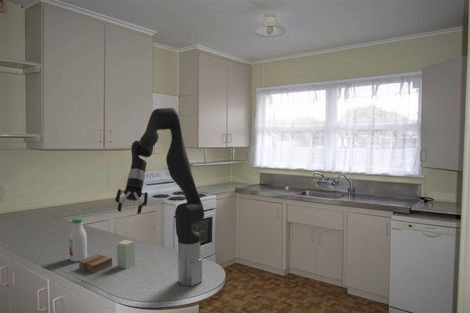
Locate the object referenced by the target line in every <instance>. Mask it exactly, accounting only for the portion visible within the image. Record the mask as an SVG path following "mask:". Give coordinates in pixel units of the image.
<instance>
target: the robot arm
mask: <svg viewBox="0 0 470 313" xmlns="http://www.w3.org/2000/svg"><path fill="white" fill-rule="evenodd" d="M181 127H182V126H181V121H180V117H179V113H178V111H177V110H176V109H175V108H174V107H162V108H155V109H153V110H152V112H151V114H150V116H149V119H148V123H147V125H146V128H145V131H144V133H143V134H142V136H141V138H139V139H140V140H134V141H133V142H132V144H131V147H130V148H131V149H130V150H131V163H130V164H131V165H130V170H129V173H128V176H127V181H126V186H125V189H124V190H122V189H121V188H119V189H117V192H116V196H115V200H114V201H115V202H116V203H118V205H117V211H118V213H121V212H122V209H123V204H124V203H125V202H127V201H133V202H136V201H137V203H138V208H137V211H136V214H137V215H140V214H141V212H142V210H143V209H142V208H143V207H144V206H145V207H146V206H147V205H148V199H149V198H148V197H149V193H148V192H143V187H144V183H145V182H144V181H145V174H146V168H147V161H146V160H145V159H143V158H149V157H151V156H152V155H153V151H154V146H155V145H156V143H157V142H158V140H159V133H158V131H164V130H166V131H167V130H169V131H170V136H171V142H170V145H169V147H168V150H167V154H166V159H165V161H166V166H167V170H168V173H169V176H170V178H171V179H172V181H174V183H175V184H176V185H177V186H178V187H179V188H180V190H181V191H182V192H183V195H184V197H185V200H186V202H183V203H180V204H178V205H177V206H176V207H175V213H174V220H175V233H176V236H177V270H178V272H177V273H178V274H177V276H178V278H177V279H178V280H177V281H178V284H180V285H181V286H187V287H189V286H190V287H194V286H196V285H198V284H199V283H202V282H203V259H202V258H201V234H200V233H199V232H197V231H193V230H192V225H195V224H199V223H201V222H203V220H204V219H205V218H204V217H205V209H204V206H203V202H202V200H201V197H200V195H199V192H198V189H197V187H196V183H195V180H194V176H193V173H192V168H191V165H190V164H191V163H190V160H189V157H188V153H187V150H186V146H185V141H184V139H183V138H184V137H183V133H182V128H181ZM141 157H143V158H141ZM123 194H124V196H122V195H123ZM121 196H122V198H121ZM141 197H143V202H142V201H141V199H140V198H141Z"/></svg>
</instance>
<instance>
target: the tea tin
mask: <svg viewBox="0 0 470 313" xmlns="http://www.w3.org/2000/svg"><path fill="white" fill-rule="evenodd" d="M135 250H136V249H135V241H133V240H129V239H124V240H120V241H119V242H117V245H116V255H117V260H116V261H117V267H119V268H122V269H124V270H125V269H128V268H131V267H133V266H135V264H136V258H135Z"/></svg>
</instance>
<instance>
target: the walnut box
mask: <svg viewBox="0 0 470 313" xmlns="http://www.w3.org/2000/svg"><path fill="white" fill-rule="evenodd" d="M78 263H79V264H78V265H79V267H78V268H79V270H81V271H85V272H87V273H88V272H89V273H91V274H97V273H98V272H100V271H103V270H105V269H108V268H110V267H112V266H113V258H112V257H109V256H106V255H105V256H104V255H102V254H94V255H92V256H90V257H87V258H86V259H83V260H81V261H78Z"/></svg>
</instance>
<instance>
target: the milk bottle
mask: <svg viewBox="0 0 470 313" xmlns="http://www.w3.org/2000/svg"><path fill="white" fill-rule="evenodd" d="M83 221H84V219H83V217H75V218H73V219H72V220H71V224H72V228H71V230H70V233H69V241H68V242H69V260H70V261H71V262H79V261H81V260H83V259H86V258H88V243H87V240H88V239H87V232H86V231H85V228H84V226H83V223H84V222H83Z"/></svg>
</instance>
